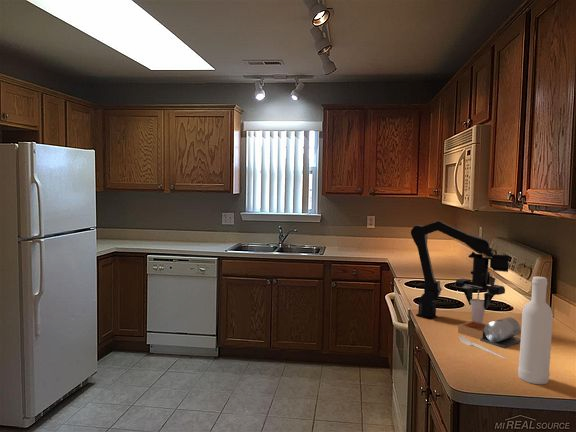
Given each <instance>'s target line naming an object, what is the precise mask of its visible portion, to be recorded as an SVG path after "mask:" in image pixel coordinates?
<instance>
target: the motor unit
mask: <svg viewBox="0 0 576 432" xmlns="http://www.w3.org/2000/svg"><path fill="white" fill-rule="evenodd" d="M457 325H458V326H457V333H459V334H461V335H465V336H468V337H471V338H475V339H478V340H480V341H481V342H482V343H486V344H490V345H492V346H496V347H499V348H503V349H507V348H509V347H511V346H513V345H516V344H520V342H521V337H520V338H519V337H517V336H518V335H519V334H520V333H521V326H520V323H519V322H518V321H517V319H515V318H514V317H510V316H509V317H505V318H504V317H502V318H500V319H497V320H494V321H490V322H488V323H487V324H486V323H483V322H482V323H479V322H476V321H472V320H471V321H468V322H463V323H459V324H457Z"/></svg>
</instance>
